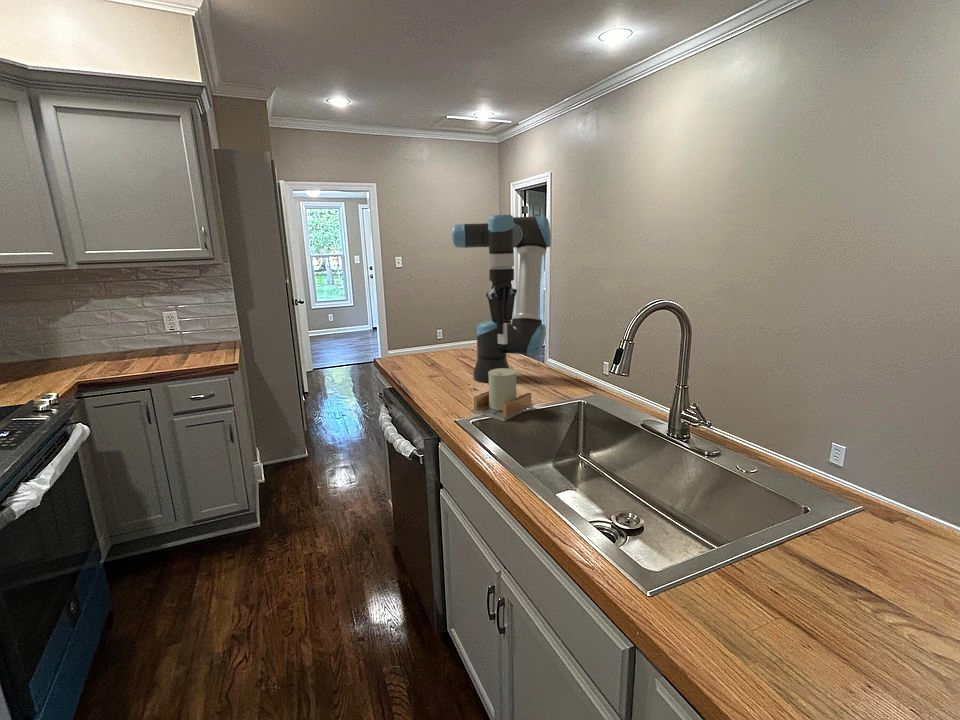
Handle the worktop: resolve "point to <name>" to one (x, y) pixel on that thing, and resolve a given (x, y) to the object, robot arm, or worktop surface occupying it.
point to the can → (501, 387)
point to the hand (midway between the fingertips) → (502, 343)
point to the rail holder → (509, 407)
